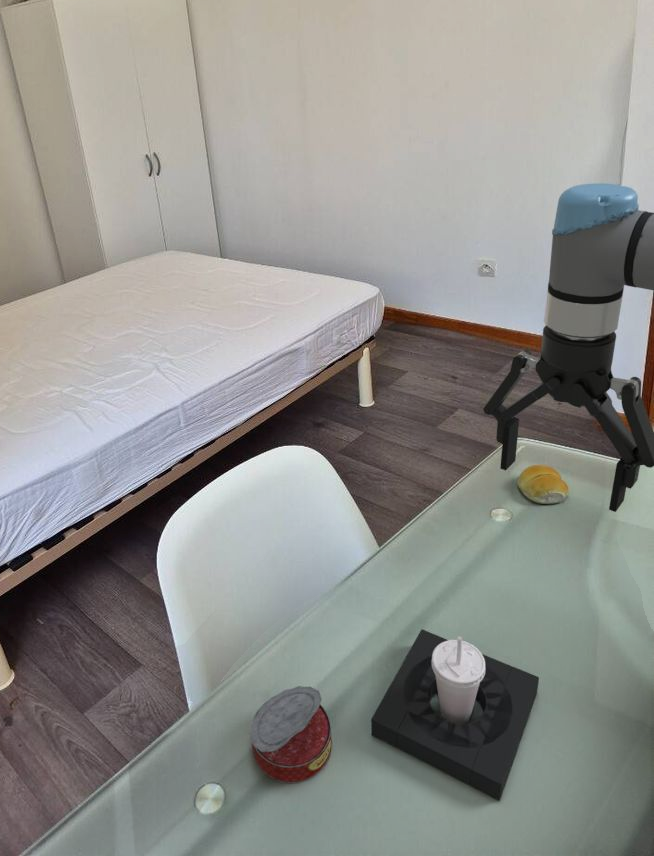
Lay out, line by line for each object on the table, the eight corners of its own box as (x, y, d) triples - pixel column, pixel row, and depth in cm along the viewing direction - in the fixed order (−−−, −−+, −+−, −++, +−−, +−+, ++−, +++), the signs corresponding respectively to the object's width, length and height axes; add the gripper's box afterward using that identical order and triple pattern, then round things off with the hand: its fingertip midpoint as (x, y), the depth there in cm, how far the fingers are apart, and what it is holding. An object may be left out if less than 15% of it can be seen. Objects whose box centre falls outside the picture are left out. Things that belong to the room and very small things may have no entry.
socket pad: (537, 693, 89) (539, 677, 88) (499, 801, 78) (501, 784, 76) (421, 644, 98) (421, 628, 96) (371, 735, 86) (371, 719, 84)
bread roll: (553, 474, 130) (556, 456, 129) (573, 503, 122) (576, 485, 121) (510, 477, 130) (512, 459, 129) (527, 507, 122) (529, 488, 121)
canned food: (283, 807, 83) (240, 781, 77) (262, 729, 91) (222, 700, 86) (361, 759, 82) (324, 729, 77) (333, 684, 91) (297, 652, 85)
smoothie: (428, 732, 86) (431, 652, 79) (430, 688, 91) (433, 610, 85) (482, 740, 84) (489, 660, 78) (480, 695, 90) (487, 617, 83)
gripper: (716, 342, 71) (679, 507, 80) (491, 295, 86) (482, 437, 96) (695, 370, 66) (658, 542, 75) (461, 314, 82) (454, 462, 91)
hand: (559, 484), depth 85 cm, fingers open, 13 cm apart
